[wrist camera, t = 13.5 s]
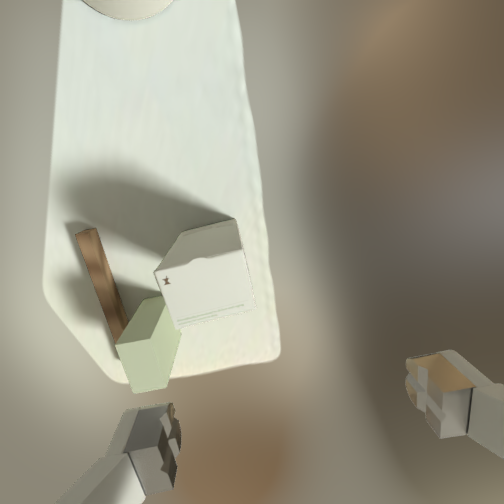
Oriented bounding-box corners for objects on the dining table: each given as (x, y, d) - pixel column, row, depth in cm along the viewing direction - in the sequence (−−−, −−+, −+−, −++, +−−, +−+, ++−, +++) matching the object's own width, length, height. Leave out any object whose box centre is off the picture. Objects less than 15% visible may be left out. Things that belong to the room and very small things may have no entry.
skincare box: (192, 271, 41) (171, 334, 26) (178, 228, 39) (147, 270, 24) (248, 258, 41) (258, 313, 26) (237, 214, 39) (242, 248, 24)
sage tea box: (143, 299, 42) (114, 345, 32) (170, 294, 42) (150, 338, 32) (155, 338, 44) (132, 394, 34) (181, 333, 44) (166, 387, 34)
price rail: (83, 230, 38) (73, 234, 36) (96, 228, 38) (87, 232, 36) (130, 362, 45) (125, 373, 43) (141, 360, 45) (136, 371, 43)
